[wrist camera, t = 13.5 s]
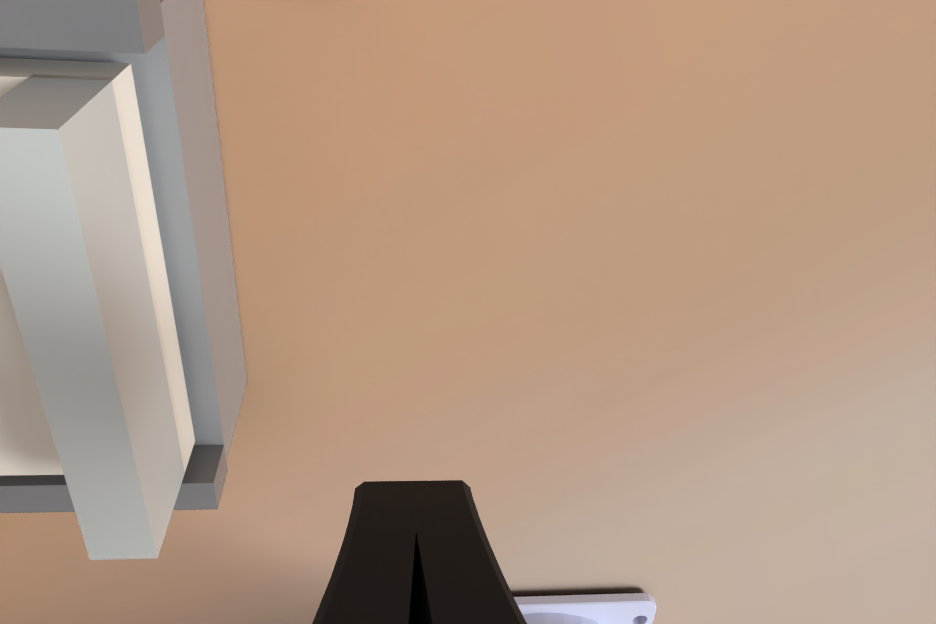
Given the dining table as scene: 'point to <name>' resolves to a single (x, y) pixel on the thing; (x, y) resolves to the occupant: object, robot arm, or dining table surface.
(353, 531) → the robot arm
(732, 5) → the dining table surface
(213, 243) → the housing
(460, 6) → the dining table surface
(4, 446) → the lid
